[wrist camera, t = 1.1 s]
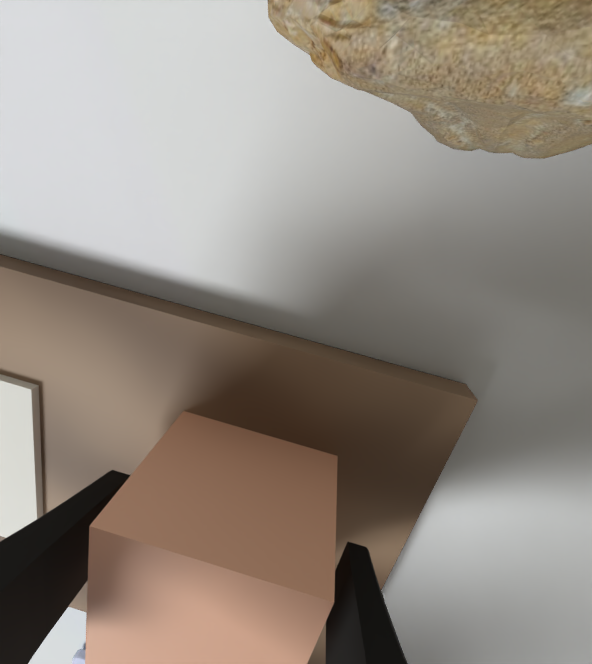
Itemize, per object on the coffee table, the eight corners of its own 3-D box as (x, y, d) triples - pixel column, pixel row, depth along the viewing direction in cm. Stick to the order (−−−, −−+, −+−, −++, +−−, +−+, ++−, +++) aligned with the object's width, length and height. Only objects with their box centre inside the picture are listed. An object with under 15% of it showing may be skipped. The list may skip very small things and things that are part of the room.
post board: (330, 664, 16) (326, 819, 12) (-118, 520, 17) (-265, 618, 13) (466, 384, 11) (544, 492, 7) (-206, 197, 12) (-510, 187, 8)
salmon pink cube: (298, 563, 13) (277, 731, 9) (167, 523, 13) (85, 667, 9) (337, 455, 11) (334, 602, 7) (183, 410, 11) (89, 525, 7)
